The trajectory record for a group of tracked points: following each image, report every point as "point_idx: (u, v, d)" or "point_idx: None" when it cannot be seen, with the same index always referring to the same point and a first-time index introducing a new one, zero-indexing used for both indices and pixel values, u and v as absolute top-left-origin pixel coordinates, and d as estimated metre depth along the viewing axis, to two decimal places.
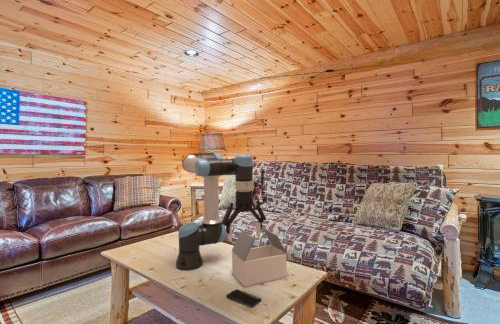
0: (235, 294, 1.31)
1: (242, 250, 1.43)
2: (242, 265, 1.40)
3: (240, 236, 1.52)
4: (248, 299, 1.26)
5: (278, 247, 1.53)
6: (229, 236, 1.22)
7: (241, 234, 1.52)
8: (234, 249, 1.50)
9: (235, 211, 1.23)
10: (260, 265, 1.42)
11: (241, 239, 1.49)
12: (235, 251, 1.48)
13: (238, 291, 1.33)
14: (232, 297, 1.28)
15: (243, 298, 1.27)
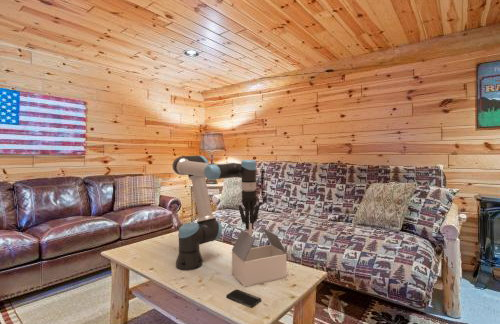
0: (235, 294, 1.31)
1: (242, 250, 1.43)
2: (242, 265, 1.40)
3: (240, 236, 1.52)
4: (248, 299, 1.26)
5: (278, 247, 1.53)
6: (248, 232, 1.47)
7: (241, 234, 1.52)
8: (234, 249, 1.50)
9: (245, 210, 1.46)
10: (260, 265, 1.42)
11: (241, 239, 1.49)
12: (235, 251, 1.48)
13: (238, 291, 1.33)
14: (232, 297, 1.28)
15: (243, 298, 1.27)
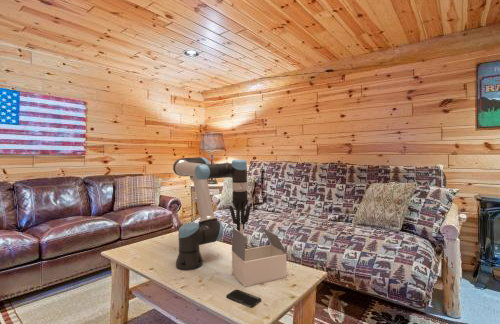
0: (235, 294, 1.31)
1: (239, 250, 1.43)
2: (242, 265, 1.40)
3: (233, 235, 1.50)
4: (248, 299, 1.26)
5: (278, 247, 1.53)
6: None
7: (234, 233, 1.50)
8: (233, 249, 1.50)
9: (236, 210, 1.44)
10: (260, 265, 1.42)
11: (235, 238, 1.48)
12: (234, 251, 1.48)
13: (238, 291, 1.33)
14: (232, 297, 1.28)
15: (243, 298, 1.27)
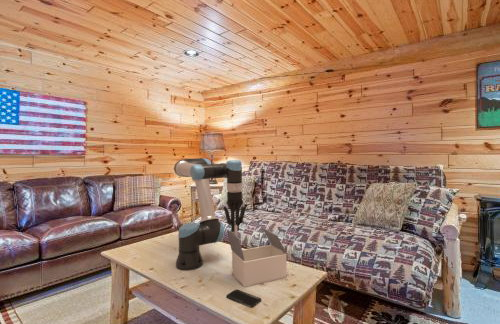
0: (235, 294, 1.31)
1: (237, 250, 1.42)
2: (242, 265, 1.40)
3: (229, 236, 1.49)
4: (248, 299, 1.26)
5: (278, 247, 1.53)
6: (234, 234, 1.43)
7: (228, 234, 1.49)
8: (232, 249, 1.50)
9: (231, 211, 1.43)
10: (260, 265, 1.42)
11: (231, 239, 1.47)
12: (234, 251, 1.48)
13: (238, 291, 1.33)
14: (232, 297, 1.28)
15: (243, 298, 1.27)
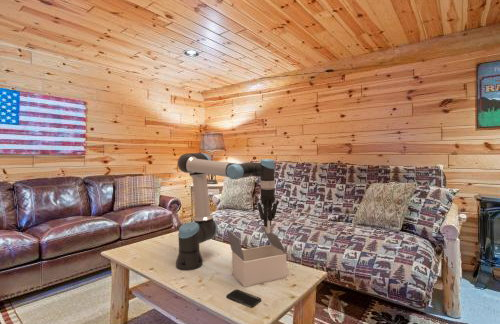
0: (235, 294, 1.31)
1: (237, 250, 1.42)
2: (242, 265, 1.40)
3: (229, 236, 1.49)
4: (248, 299, 1.26)
5: (278, 247, 1.53)
6: (266, 229, 1.51)
7: (228, 234, 1.49)
8: (232, 249, 1.50)
9: (264, 207, 1.50)
10: (260, 265, 1.42)
11: (231, 239, 1.47)
12: (234, 251, 1.48)
13: (238, 291, 1.33)
14: (232, 297, 1.28)
15: (243, 298, 1.27)
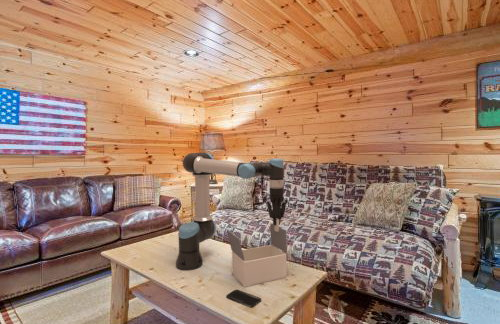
0: (235, 294, 1.31)
1: (237, 250, 1.42)
2: (242, 265, 1.40)
3: (229, 236, 1.49)
4: (248, 299, 1.26)
5: (279, 246, 1.54)
6: (275, 227, 1.53)
7: (228, 234, 1.49)
8: (232, 249, 1.50)
9: (273, 206, 1.53)
10: (260, 265, 1.42)
11: (231, 239, 1.47)
12: (234, 251, 1.48)
13: (238, 291, 1.33)
14: (232, 297, 1.28)
15: (243, 298, 1.27)
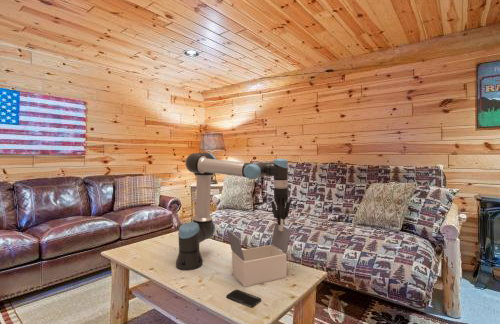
0: (235, 294, 1.31)
1: (237, 250, 1.42)
2: (242, 265, 1.40)
3: (229, 236, 1.49)
4: (248, 299, 1.26)
5: (280, 246, 1.54)
6: (280, 227, 1.54)
7: (228, 234, 1.49)
8: (232, 249, 1.50)
9: (277, 206, 1.54)
10: (260, 265, 1.42)
11: (231, 239, 1.47)
12: (234, 251, 1.48)
13: (238, 291, 1.33)
14: (232, 297, 1.28)
15: (243, 298, 1.27)
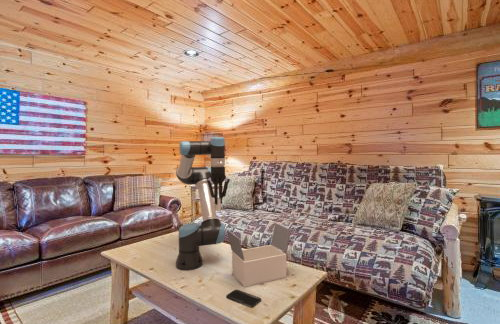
0: (235, 294, 1.31)
1: (237, 250, 1.42)
2: (242, 265, 1.40)
3: (229, 236, 1.49)
4: (248, 299, 1.26)
5: (280, 246, 1.54)
6: (217, 206, 1.52)
7: (228, 234, 1.49)
8: (232, 249, 1.50)
9: (214, 185, 1.51)
10: (260, 265, 1.42)
11: (231, 239, 1.47)
12: (234, 251, 1.48)
13: (237, 291, 1.33)
14: (232, 297, 1.28)
15: (243, 298, 1.27)
